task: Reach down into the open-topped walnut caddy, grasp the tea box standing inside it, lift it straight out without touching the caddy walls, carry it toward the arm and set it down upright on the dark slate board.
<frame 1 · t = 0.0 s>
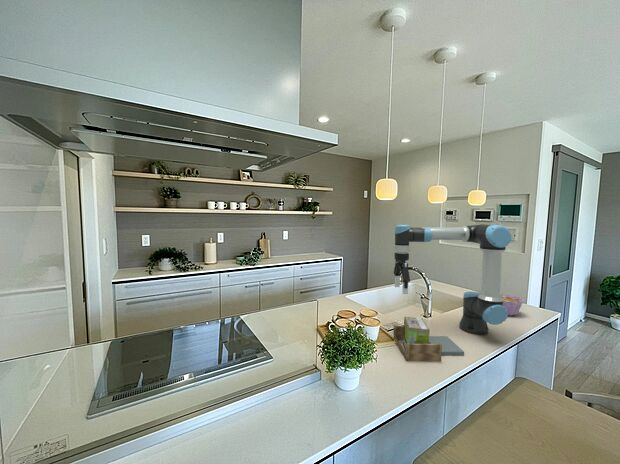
hand: (400, 290, 145), 28 cm above the worktop, fingers open, 13 cm apart
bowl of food: (504, 313, 185), on the worktop
walnut caddy: (415, 349, 135), on the worktop
tea box: (415, 350, 135), resting in walnut caddy
slate board: (442, 347, 137), on the worktop
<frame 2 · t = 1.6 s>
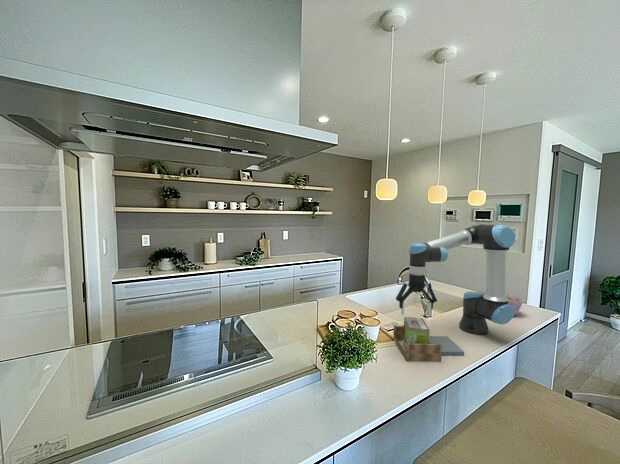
hand: (415, 314, 133), 19 cm above the worktop, fingers open, 13 cm apart
nothing on the worktop moved.
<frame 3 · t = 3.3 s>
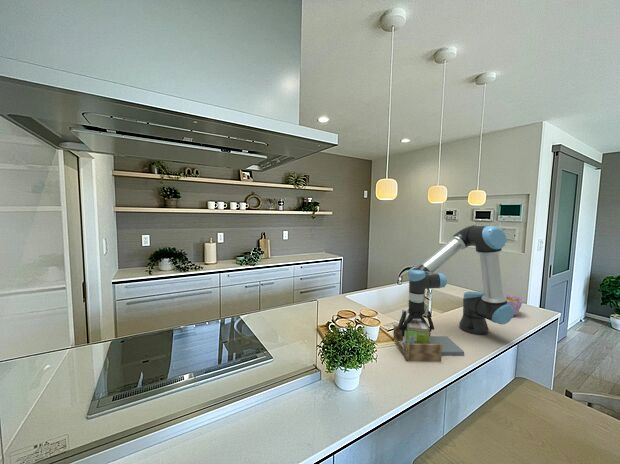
hand: (415, 342, 134), 4 cm above the worktop, fingers closed on tea box, 11 cm apart
tea box: (415, 350, 135), resting in walnut caddy, touching gripper
everything else where it was.
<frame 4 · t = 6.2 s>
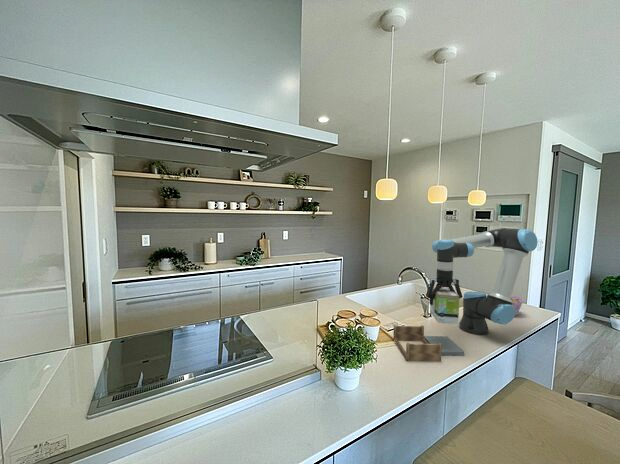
hand: (443, 310, 136), 20 cm above the worktop, fingers closed on tea box, 11 cm apart
tea box: (443, 318, 136), point 15 cm above the worktop, touching gripper
everything else where it was.
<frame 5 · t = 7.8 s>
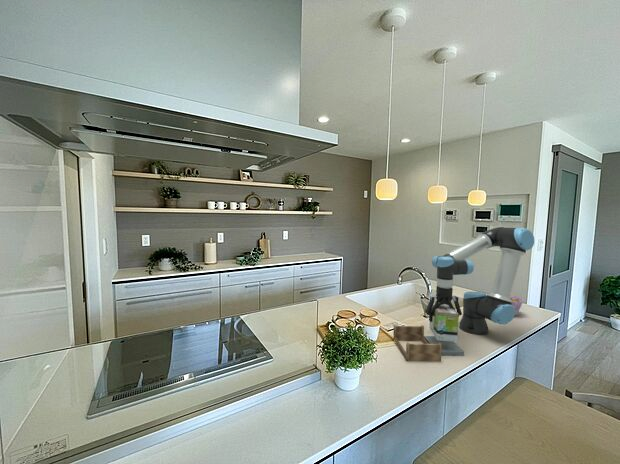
hand: (443, 327, 137), 11 cm above the worktop, fingers closed on tea box, 11 cm apart
tea box: (442, 335, 137), point 6 cm above the worktop, touching gripper
everything else where it was.
when the fingers open (7 cm above the worktop, at t = 9.1 s): tea box drops 1 cm, resting on slate board.
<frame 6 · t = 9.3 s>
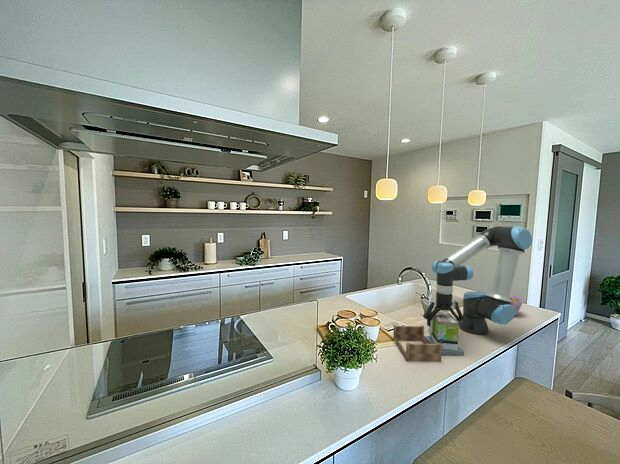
hand: (443, 332, 137), 8 cm above the worktop, fingers open, 13 cm apart
tea box: (442, 343, 137), point 2 cm above the worktop, touching slate board
everything else where it was.
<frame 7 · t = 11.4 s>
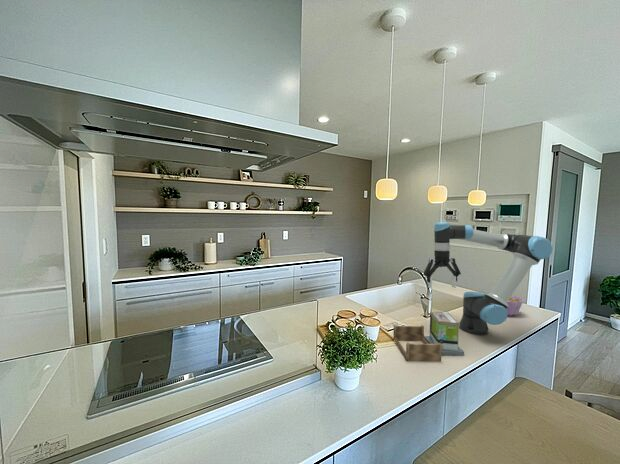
hand: (441, 287, 145), 29 cm above the worktop, fingers open, 13 cm apart
nothing on the worktop moved.
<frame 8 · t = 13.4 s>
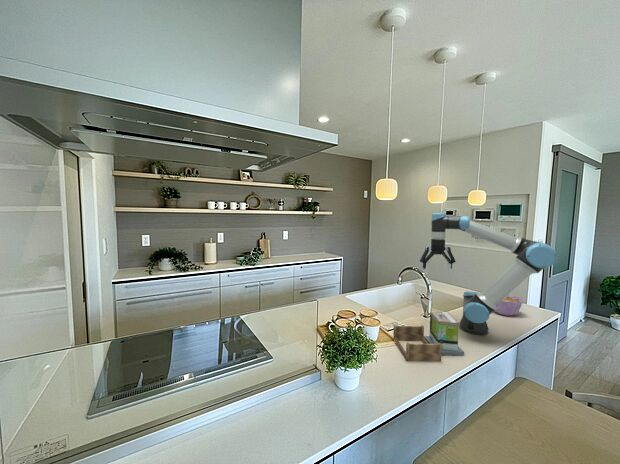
hand: (437, 274, 155), 35 cm above the worktop, fingers open, 13 cm apart
nothing on the worktop moved.
at the end: tea box 0.1 cm from the slate board (horizontally); tea box touching slate board; tea box tilted 0° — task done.
